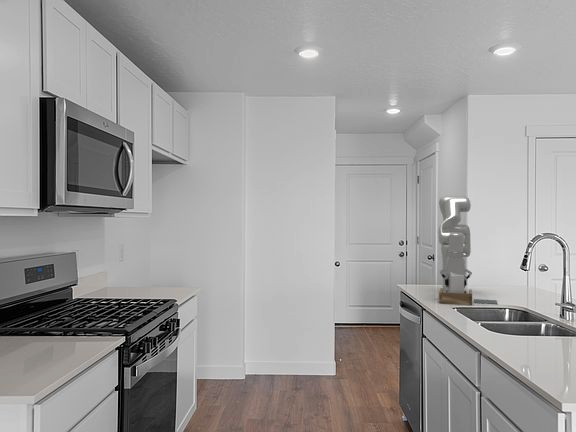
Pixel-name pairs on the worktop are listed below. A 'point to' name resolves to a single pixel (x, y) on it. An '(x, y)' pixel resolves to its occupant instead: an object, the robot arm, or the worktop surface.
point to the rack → (455, 298)
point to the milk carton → (455, 283)
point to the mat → (485, 301)
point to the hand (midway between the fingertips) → (455, 286)
